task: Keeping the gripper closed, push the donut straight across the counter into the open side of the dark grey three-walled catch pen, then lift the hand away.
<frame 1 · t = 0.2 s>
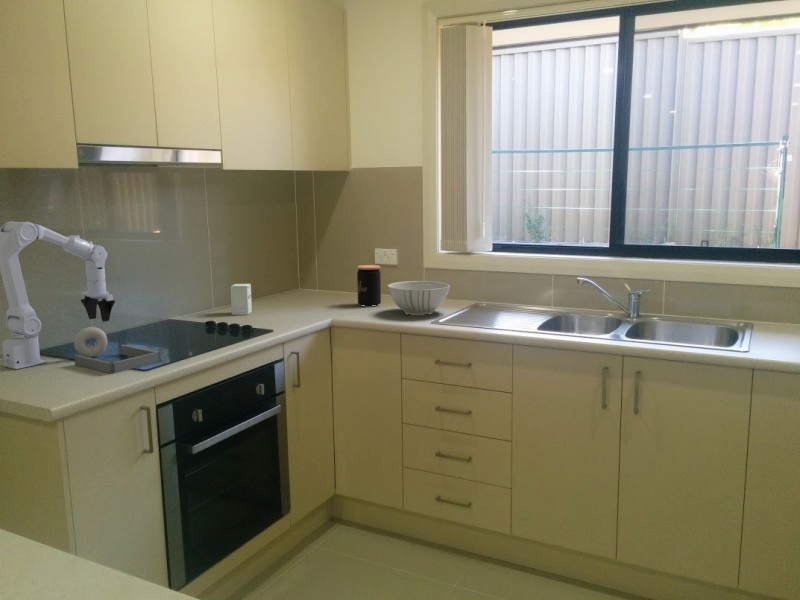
hand: (99, 319, 227), 10 cm above the worktop, tool pointing down, fingers open, 7 cm apart
donut: (92, 357, 216), on the worktop
coffee jar: (369, 305, 309), on the worktop
decorative bowl: (418, 313, 289), on the worktop
supplement box: (242, 313, 290), on the worktop
catch pen: (118, 363, 208), on the worktop
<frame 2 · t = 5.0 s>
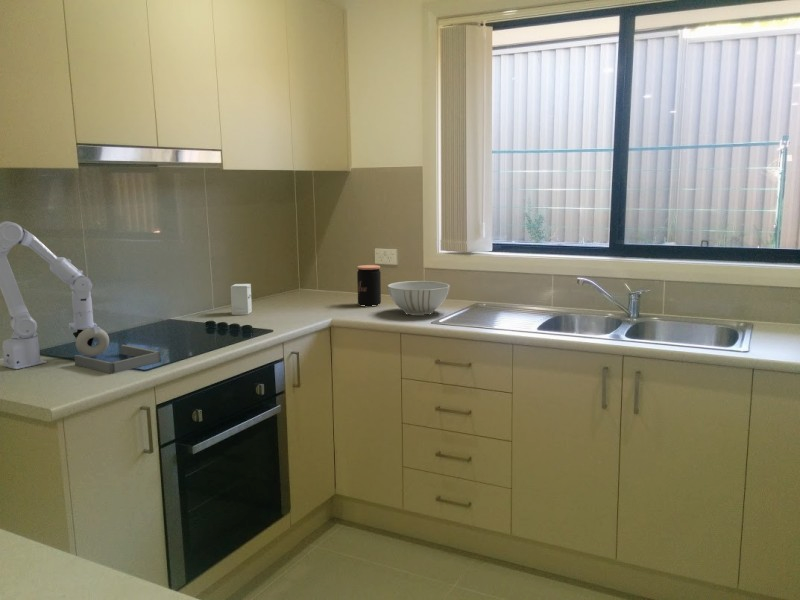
hand: (86, 352, 218), 1 cm above the worktop, tool pointing down, fingers closed
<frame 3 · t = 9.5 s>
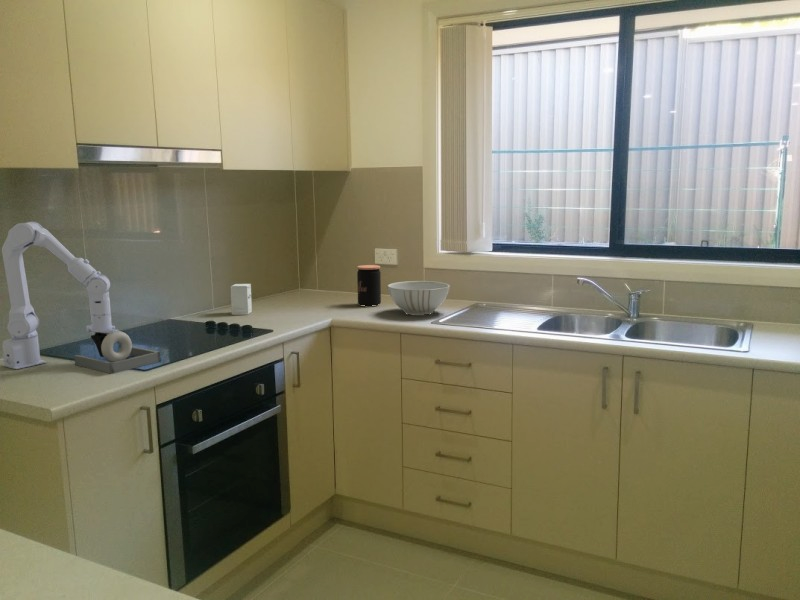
hand: (104, 356, 212), 1 cm above the worktop, tool pointing down, fingers closed
donut: (118, 363, 209), resting in catch pen
everything else where it was.
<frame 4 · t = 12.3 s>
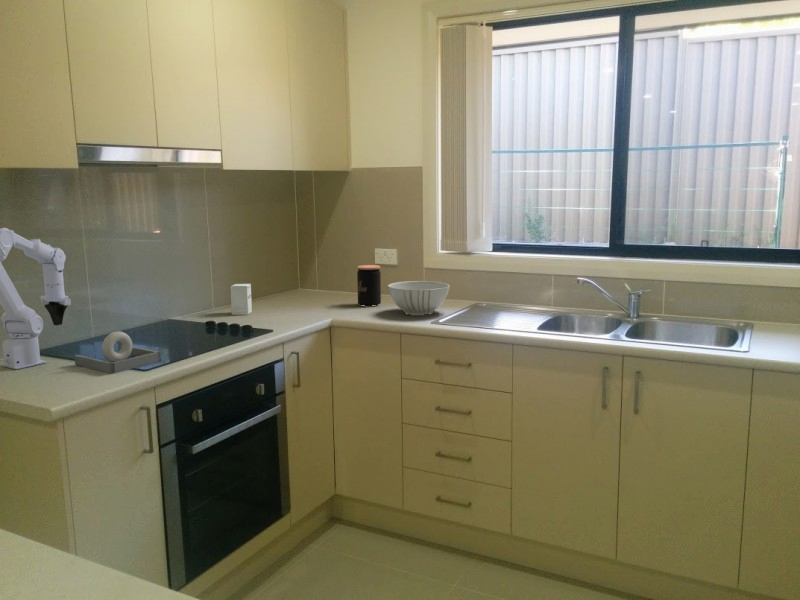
hand: (57, 324, 221), 9 cm above the worktop, tool pointing down, fingers closed
nothing on the worktop moved.
at the end: donut inside the target area on the catch pen (0.5 cm from its centre), point 0.0 cm above the catch pen's base; donut moved 13.6 cm from its start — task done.
